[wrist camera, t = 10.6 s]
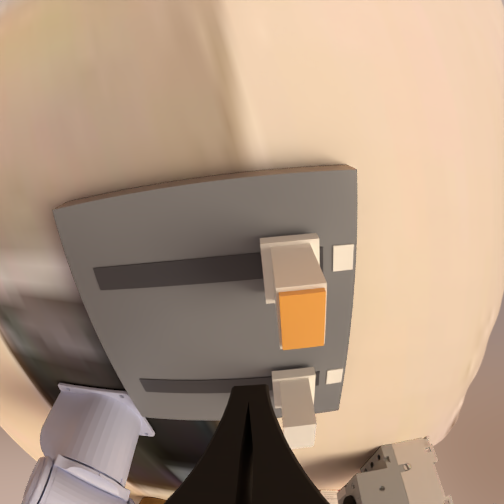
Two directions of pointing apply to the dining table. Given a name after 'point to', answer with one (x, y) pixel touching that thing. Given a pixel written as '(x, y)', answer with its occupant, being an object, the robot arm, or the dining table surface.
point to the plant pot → (152, 500)
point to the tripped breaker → (295, 288)
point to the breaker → (296, 405)
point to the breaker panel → (210, 283)
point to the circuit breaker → (397, 477)
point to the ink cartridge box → (330, 495)
